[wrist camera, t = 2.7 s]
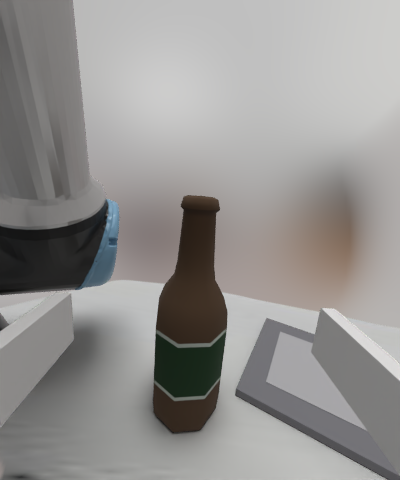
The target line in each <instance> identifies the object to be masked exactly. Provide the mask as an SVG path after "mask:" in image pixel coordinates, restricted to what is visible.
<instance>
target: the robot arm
mask: <svg viewBox="0 0 400 480" xmlns="http://www.w3.org/2000/svg"><path fill="white" fill-rule="evenodd" d="M118 231H119V207H118V204H117V203H116V202H114V201H111V200H109V199H106V192H105V190H104V187H103V186H102V184H101V183H100V182H99V181H97V180H96V179H95V178H93V177H92V176H91V175H90V174H89V164H88V153H87V144H86V132H85V122H84V112H83V102H82V92H81V81H80V71H79V60H78V50H77V39H76V29H75V19H74V9H73V0H0V295H9V294H22V293H35V292H48V291H62V290H80V289H82V288H85V287H92V286H100V285H103V284H105V283H106V282H108V281H109V279H110V278H111V276H112V273H113V270H114V265H115V260H116V253H117V240H118V233H119V232H118ZM73 340H74V330H73V315H72V300H71V293H62V292H56V293H54V294H53V295H51V296H50V297H48V298H47V299H45V300H44V301H43V302H41V303H40V304H38V305H37V306H35V307H34V308H33V309H31V310H30V311H28V312H27V313H26V314H24V315H23V316H21V317H20V318H18V319H17V320H16V321H14V322H13V323H11V324H10V325H9V324H8V323H7V321H6V320H5V319H4V317H3V316H2V315H1V313H0V428H1V427H2V425H3V424H4V423H5V422H6V421H7V419H8V418H9V417H10V416H11V415H12V413H13V412H14V411H15V410H16V409H17V407H18V406H19V405H20V404H21V403H22V401H23V400H24V399H25V398H26V397H27V395H28V394H29V393H30V392H31V391H32V389H33V388H34V387H35V386H36V385H37V383H38V382H39V381H40V380H41V379H42V377H43V376H44V375H45V374H46V373H47V372H48V370H49V369H50V368H51V367H52V366H53V364H54V363H55V362H56V361H57V360H58V358H59V357H60V356H61V355H62V354H63V352H64V351H65V350H66V349H67V348H68V346H69V345H70V344H71V343H72V342H73ZM311 353H312V354H313V356H314V357H315V358H316V360H317V361H318V363H319V364H320V365H321V367H322V368H323V369H324V371H325V372H326V374H327V375H328V376H329V378H330V379H331V381H332V382H333V383H334V385H335V386H336V388H337V389H338V390H339V392H340V393H341V395H342V396H343V397H344V399H345V400H346V401H347V403H348V404H349V406H350V407H351V408H352V410H353V411H354V413H355V414H356V415H357V417H358V418H359V420H360V421H361V422H362V424H363V425H364V426H365V428H366V429H367V431H368V432H369V433H370V435H371V436H372V438H373V439H374V440H375V442H376V443H377V445H378V446H379V447H380V449H381V450H382V452H383V453H384V454H385V456H386V457H387V458H388V460H389V461H390V463H391V464H392V465H393V467H394V468H395V470H396V471H397V472H398V474H399V475H400V363H399V362H398V361H397V360H395V359H394V358H393V357H392V356H391V355H389V354H388V353H387V352H386V351H385V350H383V349H382V348H381V347H380V346H379V345H377V344H376V343H375V342H374V341H373V340H372V339H370V338H369V337H368V336H367V335H366V334H364V333H363V332H362V331H361V330H360V329H358V328H357V327H356V326H355V325H354V324H352V323H351V322H350V321H349V320H348V319H346V318H345V317H344V316H343V315H342V314H340V313H339V312H338V311H337V310H336V309H328V308H321V310H320V314H319V319H318V323H317V328H316V332H315V337H314V341H313V346H312V350H311Z"/></svg>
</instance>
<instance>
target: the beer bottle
mask: <svg viewBox="0 0 400 480" xmlns="http://www.w3.org/2000/svg"><path fill="white" fill-rule="evenodd" d="M181 207H182V208H183V209H184V212H183V220H182V229H181V237H180V245H179V253H178V261H177V265H176V269H175V273H174V274H173V276H172V277H171V278H170V279H169V281H168V282H167V283H166V284H165V286H164V288H163V290H162V293H161V295H160V297H159V305H158V314H157V323H156V340H155V367H154V394H153V406H154V413H155V415H156V416H157V417H158V418H159V419H160V420H161V421H162V422H163V423H164V424H165V425H166V426H167V427H168V428H169V429H170V430H171V431H172V432H173V433H174V432H185V431H196V430H200V429H201V428H202V426H203V425H204V424H205V422H206V421H207V419H208V418H209V416H210V415H211V414H212V412H213V411H214V409H215V408H216V404H217V399H218V393H219V385H220V377H221V369H222V361H223V354H224V346H225V338H226V330H227V308H226V304H225V300H224V297H223V295H222V293H221V291H220V288H219V287H218V284H217V283H216V281H215V272H214V252H215V251H214V250H215V225H216V213H217V212H218V211H219V210H220V207H219V202H218V200H217V199H215V198H213V197H205V196H191V195H188V196H185V197H184V198H183V201H182V204H181Z"/></svg>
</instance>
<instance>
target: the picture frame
mask: <svg viewBox="0 0 400 480" xmlns="http://www.w3.org/2000/svg"><path fill="white" fill-rule="evenodd" d="M314 337H315V335H314V334H311V333H308V332H306V331H303V330H300V329H297V328H294V327H291V326H288V325H285V324H283V323H280V322H277V321H274V320H271V319H268V318H267V319H266V321H265V323H264V325H263V328H262V330H261V332H260V335H259V337H258V339H257V342H256V344H255V346H254V349H253V351H252V353H251V356H250V358H249V360H248V363H247V365H246V367H245V369H244V372H243V374H242V376H241V379H240V381H239V383H238V386H237V388H236V393H235V395H236V396H238V397H240V398H242V399H243V400H245V401H247V402H249V403H251V404H252V405H254V406H256V407H258V408H260V409H262V410H263V411H265V412H267V413H269V414H271V415H272V416H274V417H276V418H278V419H280V420H281V421H283V422H285V423H287V424H289V425H291V426H292V427H294V428H296V429H298V430H300V431H301V432H303V433H305V434H307V435H309V436H311V437H312V438H314V439H316V440H318V441H320V442H321V443H323V444H325V445H327V446H329V447H330V448H332V449H334V450H336V451H338V452H340V453H341V454H343V455H345V456H347V457H349V458H350V459H352V460H354V461H356V462H358V463H359V464H361V465H363V466H365V467H367V468H369V469H370V470H372V471H374V472H376V473H378V474H379V475H381V476H383V477H385V478H387V479H389V480H400V475H399V474H398V472H397V471H396V470H395V468H394V467H393V465H392V464H391V463H390V461H389V460H388V458H387V457H386V456H385V454H384V453H383V452H382V450H381V449H380V447H379V446H378V445H377V443H376V442H375V440H374V439H373V438H372V436H371V435H370V433H369V432H368V431H367V429H366V428H365V426H364V425H363V424H362V422H361V421H360V420H359V418H358V417H357V415H356V414H355V413H354V411H353V410H352V408H351V407H350V406H349V404H348V403H347V401H346V400H345V399H344V397H343V396H342V395H341V393H340V392H339V390H338V389H337V388H336V386H335V385H334V383H333V382H332V381H331V379H330V378H329V376H328V375H327V374H326V372H325V371H324V369H323V368H322V367H321V365H320V364H319V363H318V361H317V360H316V358H315V357H314V356H313V354H312V353H311V350H312V346H313V341H314Z"/></svg>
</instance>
